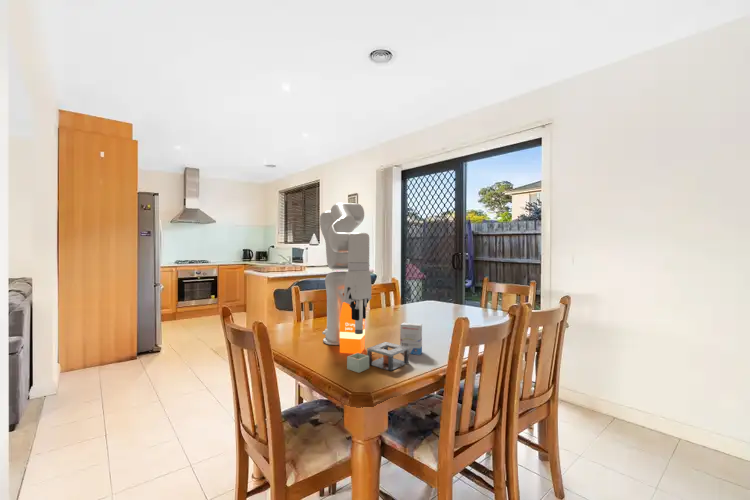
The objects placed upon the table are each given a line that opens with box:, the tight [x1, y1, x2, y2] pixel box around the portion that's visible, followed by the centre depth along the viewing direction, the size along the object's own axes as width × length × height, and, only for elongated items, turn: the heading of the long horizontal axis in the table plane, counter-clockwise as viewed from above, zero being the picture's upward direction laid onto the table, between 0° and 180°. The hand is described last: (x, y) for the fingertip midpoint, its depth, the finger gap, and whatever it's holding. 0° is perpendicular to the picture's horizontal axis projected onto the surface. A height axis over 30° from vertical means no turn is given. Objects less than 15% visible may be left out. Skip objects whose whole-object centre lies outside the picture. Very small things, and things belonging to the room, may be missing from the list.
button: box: [382, 354, 388, 364], centre depth 132 cm, size 4×4×3 cm
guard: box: [366, 341, 410, 372], centre depth 132 cm, size 11×11×6 cm
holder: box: [346, 353, 370, 374], centre depth 127 cm, size 6×6×4 cm
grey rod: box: [355, 299, 363, 334], centre depth 126 cm, size 3×3×16 cm
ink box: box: [399, 322, 423, 356], centre depth 146 cm, size 9×5×12 cm, turn 74°
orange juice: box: [339, 302, 366, 355], centre depth 147 cm, size 8×9×20 cm
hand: (358, 318), depth 126 cm, fingers closed on grey rod, 2 cm apart
